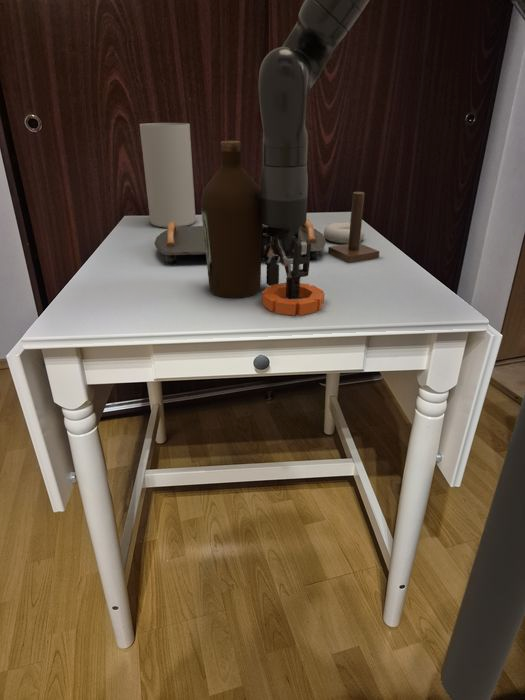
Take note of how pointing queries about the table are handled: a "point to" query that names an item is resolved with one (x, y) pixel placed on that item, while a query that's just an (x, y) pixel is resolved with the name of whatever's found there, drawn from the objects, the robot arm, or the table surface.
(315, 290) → the ring
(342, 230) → the donut
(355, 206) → the stand
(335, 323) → the table surface
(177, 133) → the cylinder vase
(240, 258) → the olive oil
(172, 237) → the serving tray
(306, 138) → the robot arm
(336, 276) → the table surface
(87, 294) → the table surface
